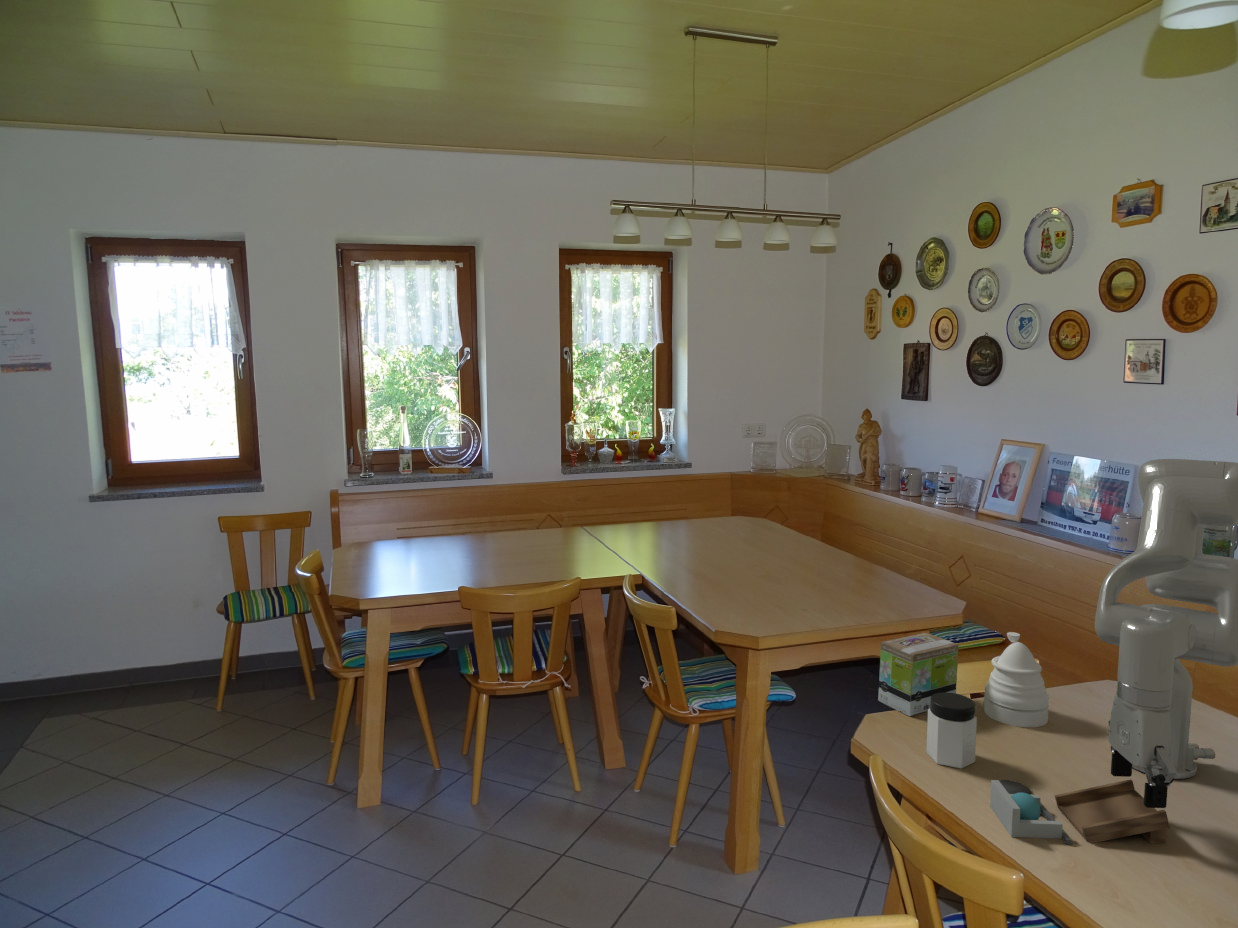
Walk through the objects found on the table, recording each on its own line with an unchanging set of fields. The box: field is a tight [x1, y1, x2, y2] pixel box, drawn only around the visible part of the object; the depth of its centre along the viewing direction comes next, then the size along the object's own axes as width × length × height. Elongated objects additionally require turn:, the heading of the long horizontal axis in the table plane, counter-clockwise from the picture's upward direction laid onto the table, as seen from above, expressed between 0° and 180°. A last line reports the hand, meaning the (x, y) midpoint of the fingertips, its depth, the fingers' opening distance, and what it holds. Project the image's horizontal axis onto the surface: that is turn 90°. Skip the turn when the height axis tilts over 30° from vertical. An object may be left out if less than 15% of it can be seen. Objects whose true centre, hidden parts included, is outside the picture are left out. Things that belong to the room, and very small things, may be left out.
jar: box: [926, 692, 978, 769], centre depth 153 cm, size 9×8×12 cm
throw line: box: [1040, 801, 1073, 845], centre depth 131 cm, size 1×12×1 cm, turn 175°
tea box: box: [877, 632, 959, 717], centre depth 179 cm, size 15×10×15 cm, turn 117°
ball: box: [1011, 793, 1042, 820], centre depth 131 cm, size 5×5×5 cm
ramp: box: [1054, 779, 1170, 844], centre depth 130 cm, size 13×10×6 cm
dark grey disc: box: [998, 779, 1033, 795], centre depth 141 cm, size 6×6×1 cm
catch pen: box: [989, 779, 1064, 840], centre depth 131 cm, size 8×9×5 cm
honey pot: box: [983, 631, 1050, 728], centre depth 172 cm, size 13×13×18 cm
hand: (1137, 790), depth 129 cm, fingers open, 9 cm apart
